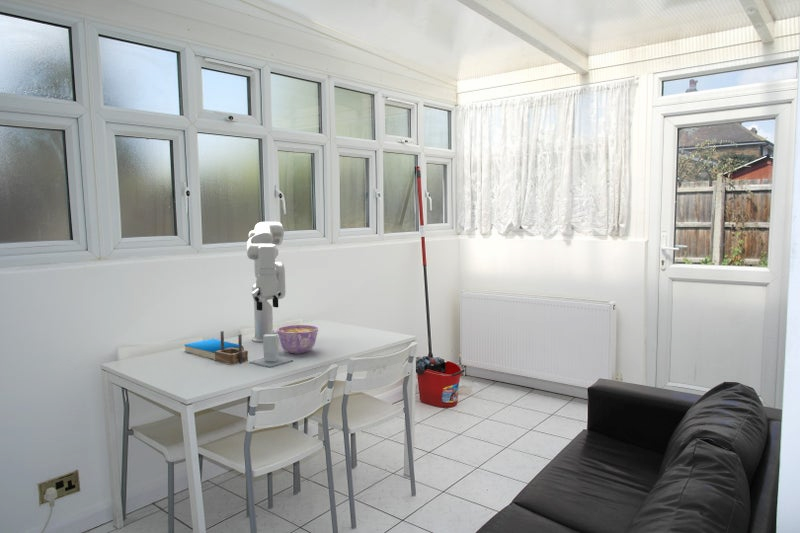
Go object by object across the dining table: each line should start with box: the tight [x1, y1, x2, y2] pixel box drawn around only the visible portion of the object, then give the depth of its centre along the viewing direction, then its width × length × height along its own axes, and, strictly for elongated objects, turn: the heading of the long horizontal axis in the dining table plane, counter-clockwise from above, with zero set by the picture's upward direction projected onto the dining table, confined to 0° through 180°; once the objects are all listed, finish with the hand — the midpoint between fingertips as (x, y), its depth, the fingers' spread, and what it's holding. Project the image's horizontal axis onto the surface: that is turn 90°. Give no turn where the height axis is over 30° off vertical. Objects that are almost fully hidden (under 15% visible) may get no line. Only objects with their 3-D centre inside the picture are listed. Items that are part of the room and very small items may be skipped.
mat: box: [248, 356, 294, 369], centre depth 251 cm, size 14×14×1 cm
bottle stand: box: [214, 330, 249, 365], centre depth 253 cm, size 9×14×13 cm, turn 55°
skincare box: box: [262, 334, 279, 362], centre depth 250 cm, size 6×4×12 cm
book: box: [183, 338, 245, 360], centre depth 269 cm, size 17×4×25 cm
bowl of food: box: [276, 324, 319, 355], centre depth 270 cm, size 20×20×12 cm
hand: (267, 308), depth 252 cm, fingers open, 9 cm apart
